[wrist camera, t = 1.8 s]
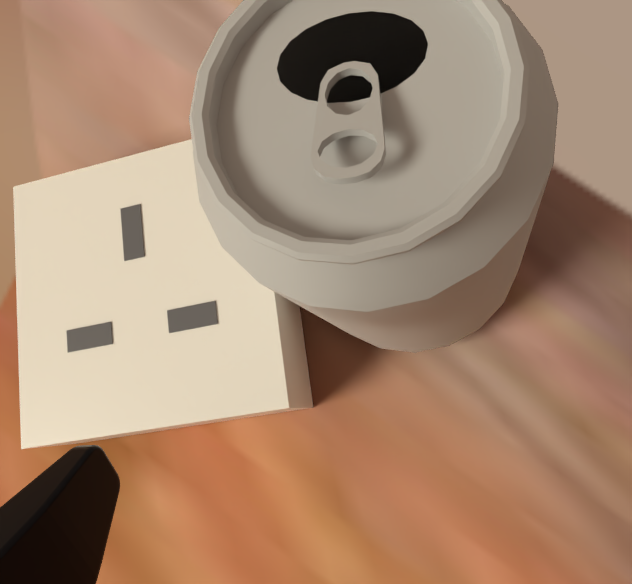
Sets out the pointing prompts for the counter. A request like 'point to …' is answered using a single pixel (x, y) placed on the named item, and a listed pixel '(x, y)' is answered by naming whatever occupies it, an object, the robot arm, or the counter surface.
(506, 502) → the counter surface
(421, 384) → the counter surface
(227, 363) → the socket block
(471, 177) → the can
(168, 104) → the counter surface
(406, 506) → the counter surface
